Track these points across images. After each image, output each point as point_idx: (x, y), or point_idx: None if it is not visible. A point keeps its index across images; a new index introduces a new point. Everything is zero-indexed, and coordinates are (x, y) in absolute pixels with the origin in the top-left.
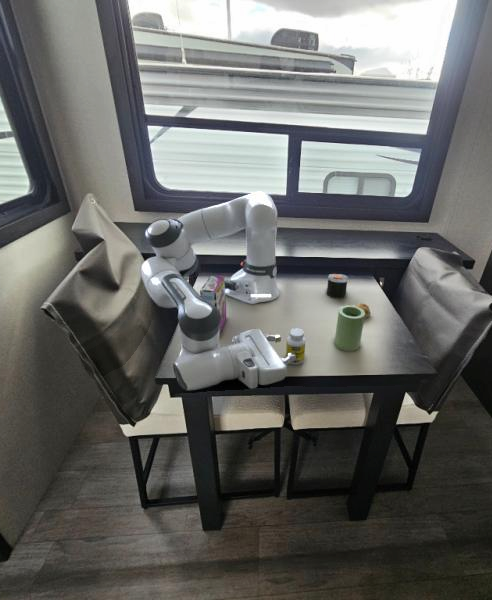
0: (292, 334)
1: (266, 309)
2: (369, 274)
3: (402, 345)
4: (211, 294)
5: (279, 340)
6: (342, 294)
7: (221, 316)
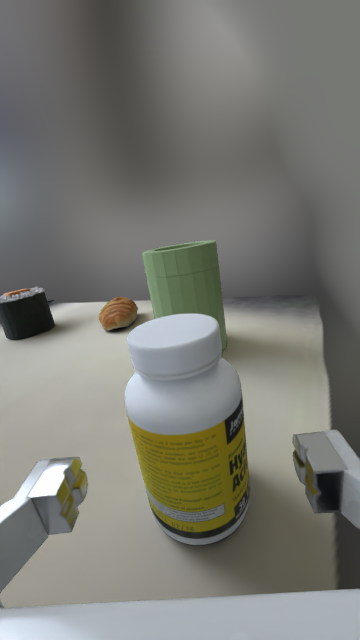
0: (184, 342)
1: None
2: (48, 302)
3: (239, 302)
4: None
5: (81, 488)
6: (50, 320)
7: None
